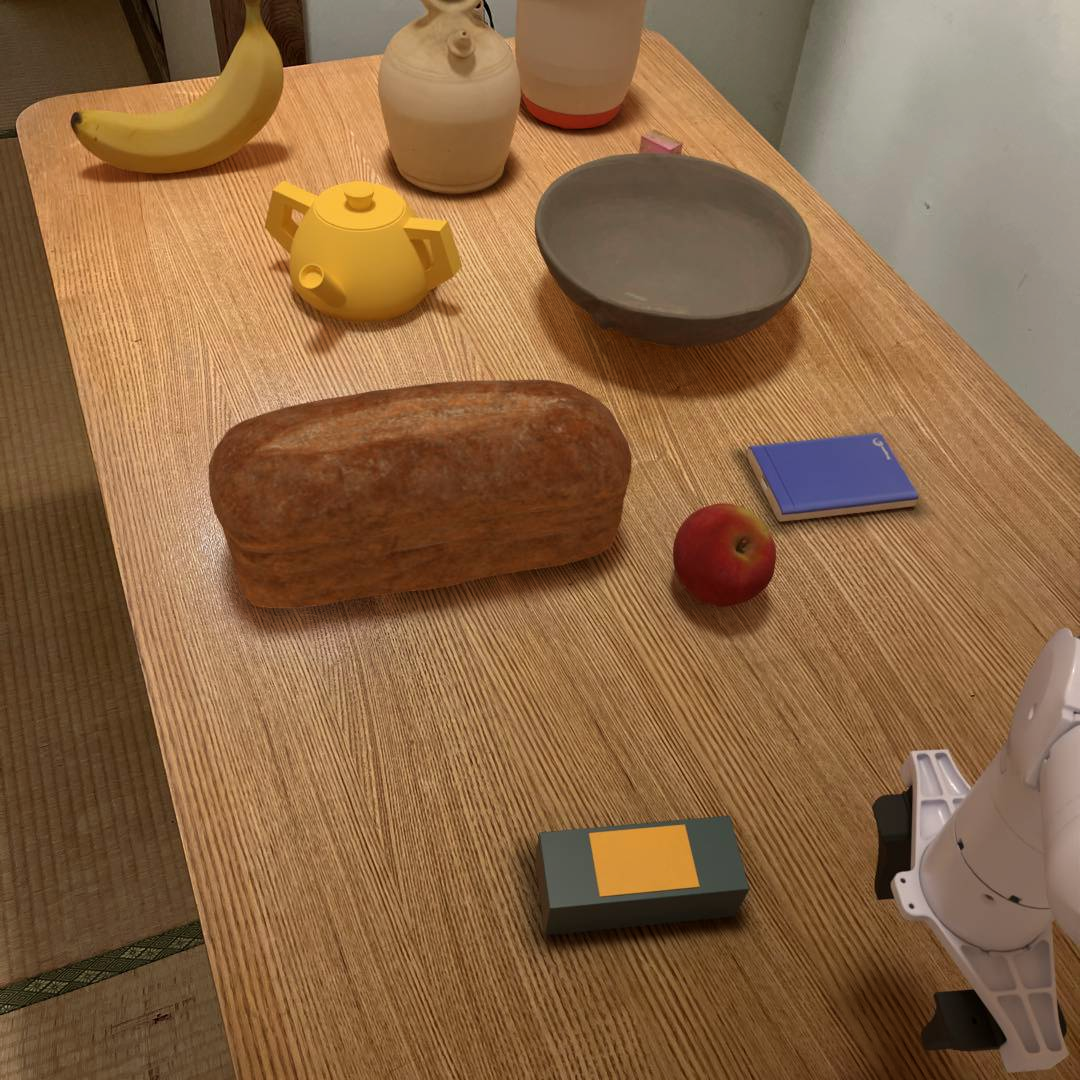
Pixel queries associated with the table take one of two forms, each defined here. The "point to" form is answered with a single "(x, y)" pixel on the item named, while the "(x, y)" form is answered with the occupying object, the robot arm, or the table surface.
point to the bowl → (672, 247)
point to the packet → (639, 874)
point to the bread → (417, 489)
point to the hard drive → (831, 477)
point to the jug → (449, 99)
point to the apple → (724, 555)
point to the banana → (195, 114)
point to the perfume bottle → (659, 143)
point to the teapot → (360, 250)
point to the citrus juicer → (577, 58)
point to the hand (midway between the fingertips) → (916, 964)
